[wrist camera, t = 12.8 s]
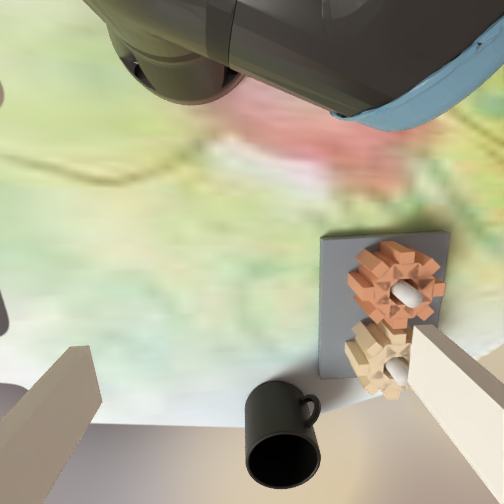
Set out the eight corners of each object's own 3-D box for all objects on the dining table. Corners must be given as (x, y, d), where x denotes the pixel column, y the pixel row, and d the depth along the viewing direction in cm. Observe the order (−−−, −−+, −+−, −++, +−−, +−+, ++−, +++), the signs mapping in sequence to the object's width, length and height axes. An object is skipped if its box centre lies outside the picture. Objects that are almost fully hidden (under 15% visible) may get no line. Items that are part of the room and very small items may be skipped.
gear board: (320, 237, 38) (341, 257, 30) (442, 230, 39) (496, 248, 31) (318, 372, 44) (335, 419, 36) (424, 365, 45) (465, 410, 36)
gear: (349, 243, 37) (365, 254, 32) (423, 238, 37) (450, 249, 33) (346, 311, 40) (360, 331, 35) (415, 306, 40) (439, 326, 35)
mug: (331, 395, 46) (352, 449, 37) (273, 439, 48) (280, 500, 39) (290, 358, 44) (302, 406, 35) (231, 406, 46) (229, 462, 37)
